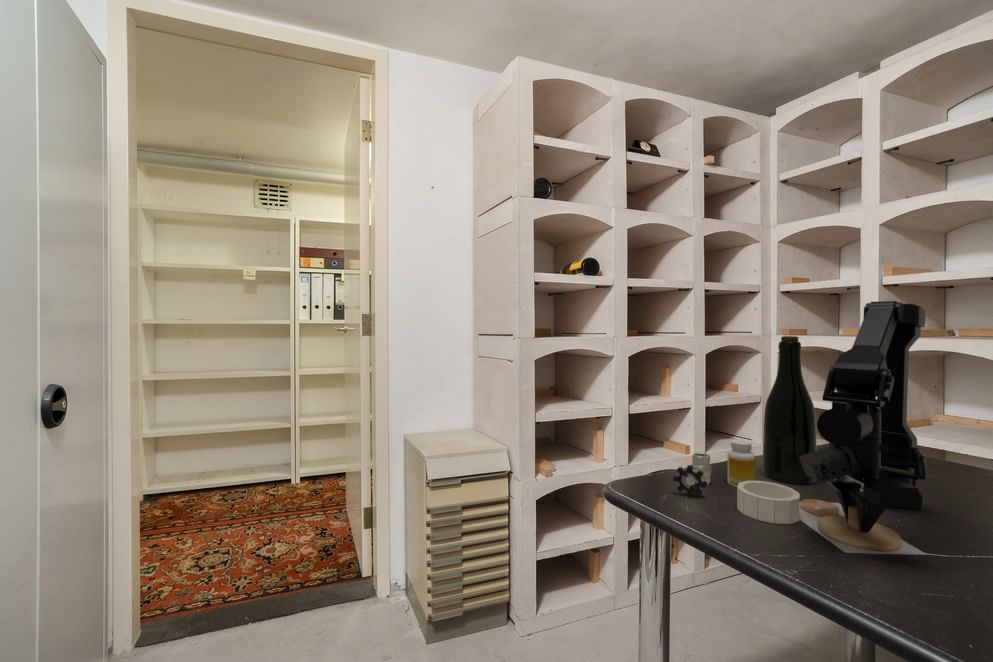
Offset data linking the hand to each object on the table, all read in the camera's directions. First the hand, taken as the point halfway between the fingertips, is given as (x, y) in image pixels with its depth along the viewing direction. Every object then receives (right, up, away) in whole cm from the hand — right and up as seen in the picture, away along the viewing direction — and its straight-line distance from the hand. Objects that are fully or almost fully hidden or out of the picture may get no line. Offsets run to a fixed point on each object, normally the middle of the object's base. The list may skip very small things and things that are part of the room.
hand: (857, 528), depth 76 cm
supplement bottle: (-6, -1, +24) cm, 25 cm away
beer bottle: (+7, -1, +29) cm, 29 cm away
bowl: (-9, -2, +10) cm, 14 cm away
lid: (0, -1, 0) cm, 1 cm away
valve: (-17, -2, +23) cm, 29 cm away
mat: (0, -2, +4) cm, 4 cm away
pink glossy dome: (+1, -1, +10) cm, 10 cm away
